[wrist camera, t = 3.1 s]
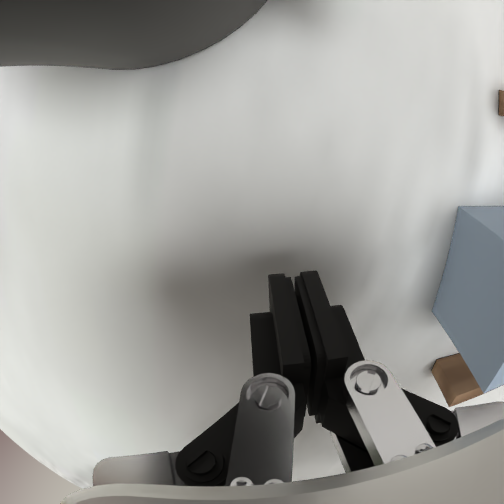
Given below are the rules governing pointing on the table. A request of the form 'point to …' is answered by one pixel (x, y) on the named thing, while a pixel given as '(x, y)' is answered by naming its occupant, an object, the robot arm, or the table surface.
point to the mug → (114, 30)
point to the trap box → (459, 360)
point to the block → (476, 293)
